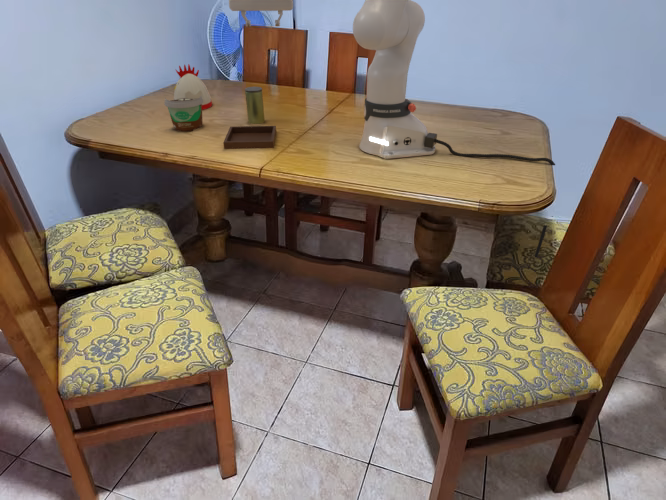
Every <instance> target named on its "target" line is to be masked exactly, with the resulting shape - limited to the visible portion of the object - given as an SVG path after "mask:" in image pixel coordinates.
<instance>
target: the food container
mask: <svg viewBox="0 0 666 500" xmlns="http://www.w3.org/2000/svg"><path fill="white" fill-rule="evenodd" d="M203 102H204V101H203V98H202V97H201V96H200V97H199V98H196V99H189V98H182V99H177V100H174V99H167V98H166V97H164V107H167V110H168V113H169V116H170V120H171V123H172V125H173V126H172V127H173V129H174V130H175V131H177V132H184V133H185V132H186V133H187V132H193V131H194V130H197V129H199V128H201V127H202V126H204V122H203V110H202V103H203Z"/></svg>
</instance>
